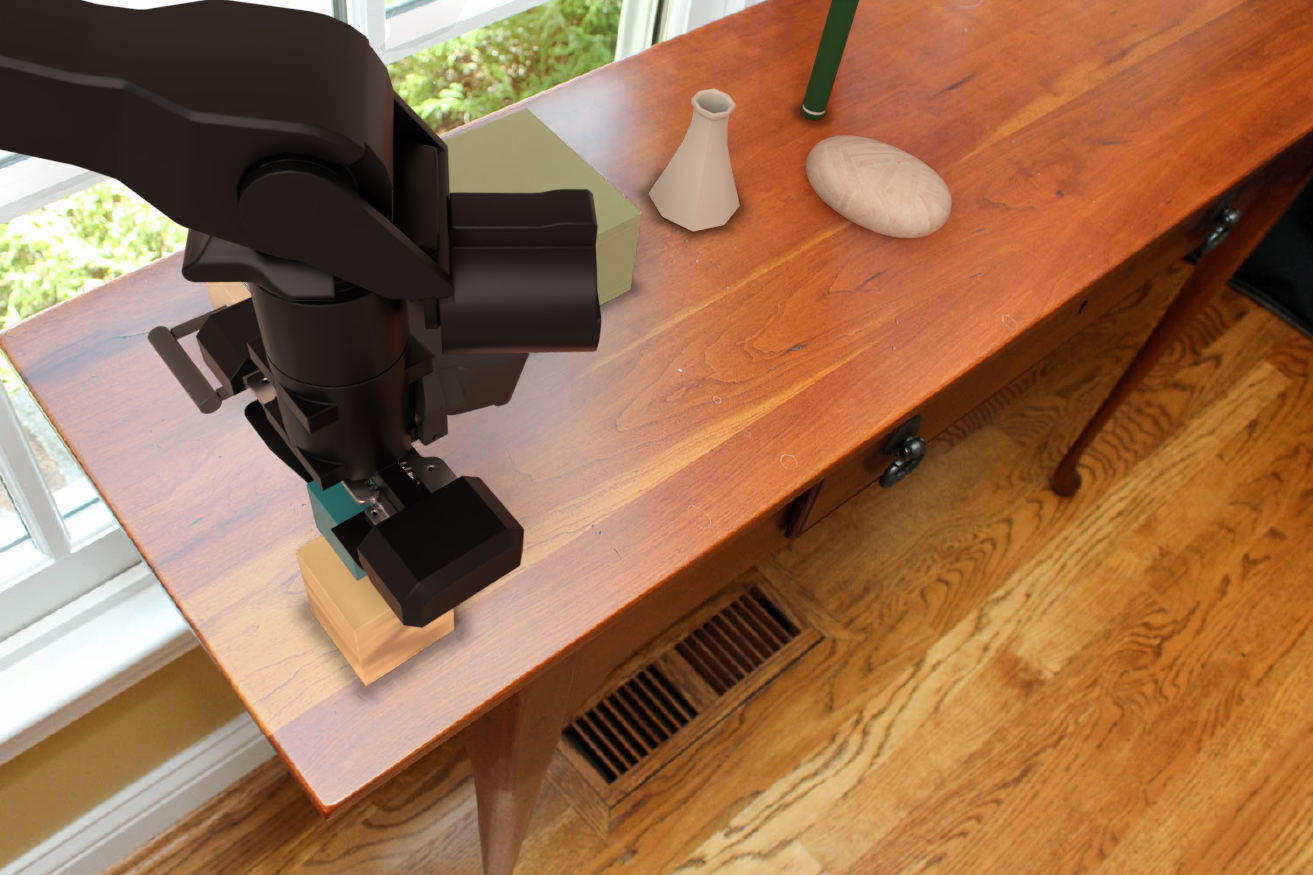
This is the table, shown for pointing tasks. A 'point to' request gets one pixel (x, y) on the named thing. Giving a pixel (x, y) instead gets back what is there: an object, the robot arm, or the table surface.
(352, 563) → the block
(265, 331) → the robot arm
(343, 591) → the riser
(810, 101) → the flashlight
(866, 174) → the decorative stone
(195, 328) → the drawer
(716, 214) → the flask
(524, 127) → the cabinet
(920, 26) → the table surface
